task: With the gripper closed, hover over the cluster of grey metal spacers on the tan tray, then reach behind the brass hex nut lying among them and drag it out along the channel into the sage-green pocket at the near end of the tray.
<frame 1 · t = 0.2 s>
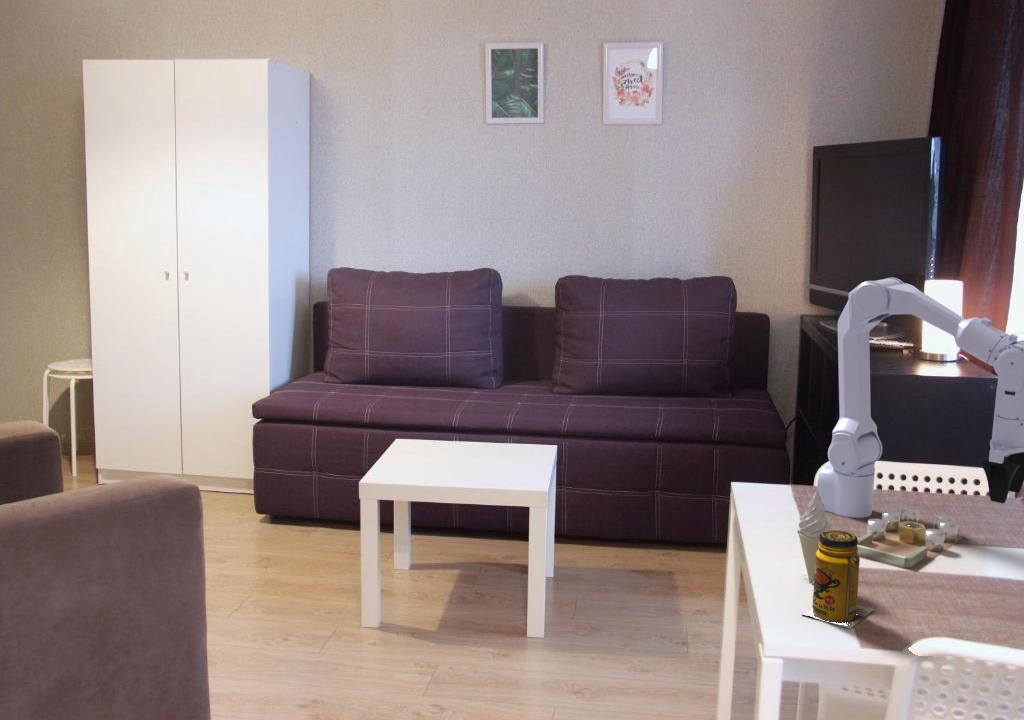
hand: (1005, 496, 176), 10 cm above the table, tool pointing down, fingers open, 7 cm apart
ice cream cone: (811, 584, 165), on the table
tan tray: (903, 550, 179), on the table
condiment: (837, 614, 153), on the table
nut: (910, 539, 181), point 1 cm above the table, touching tan tray
spacers: (915, 528, 181), point 3 cm above the table
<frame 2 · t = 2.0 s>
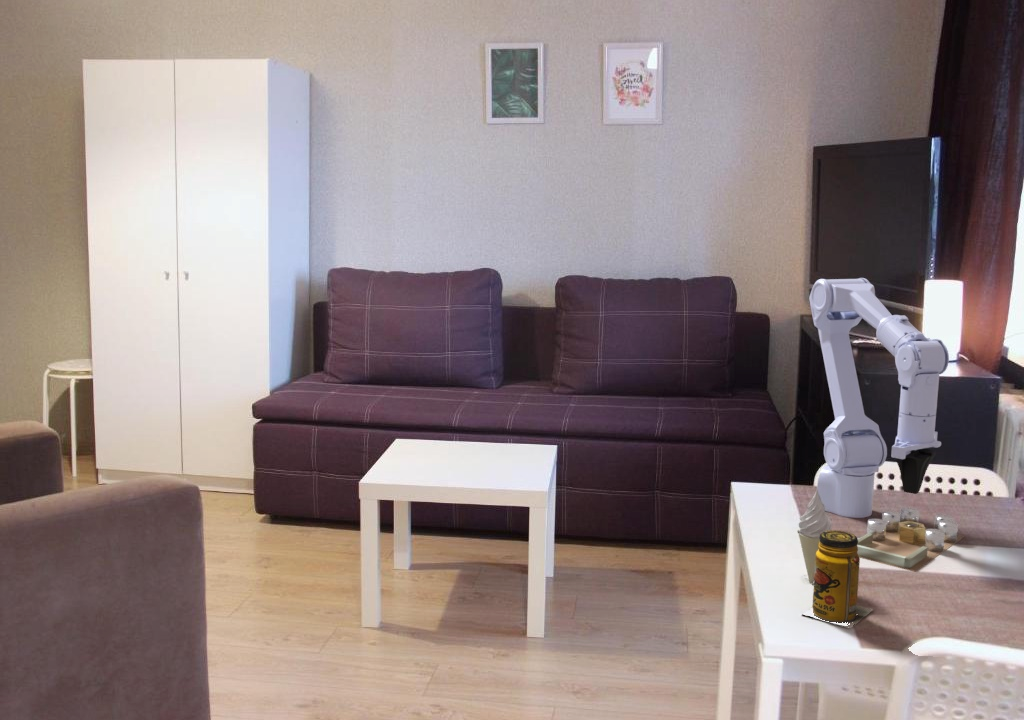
hand: (911, 492, 178), 10 cm above the table, tool pointing down, fingers closed
nothing on the table moved.
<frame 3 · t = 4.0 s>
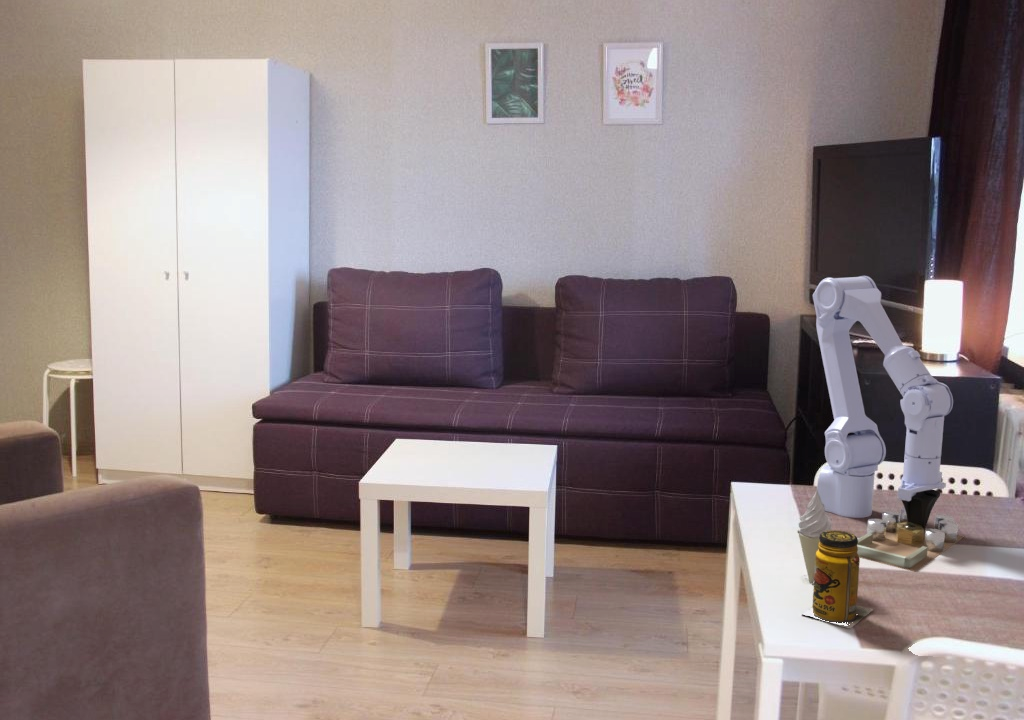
hand: (916, 531, 182), 2 cm above the table, tool pointing down, fingers closed
nut: (909, 540, 180), point 1 cm above the table, touching gripper
everything else where it was.
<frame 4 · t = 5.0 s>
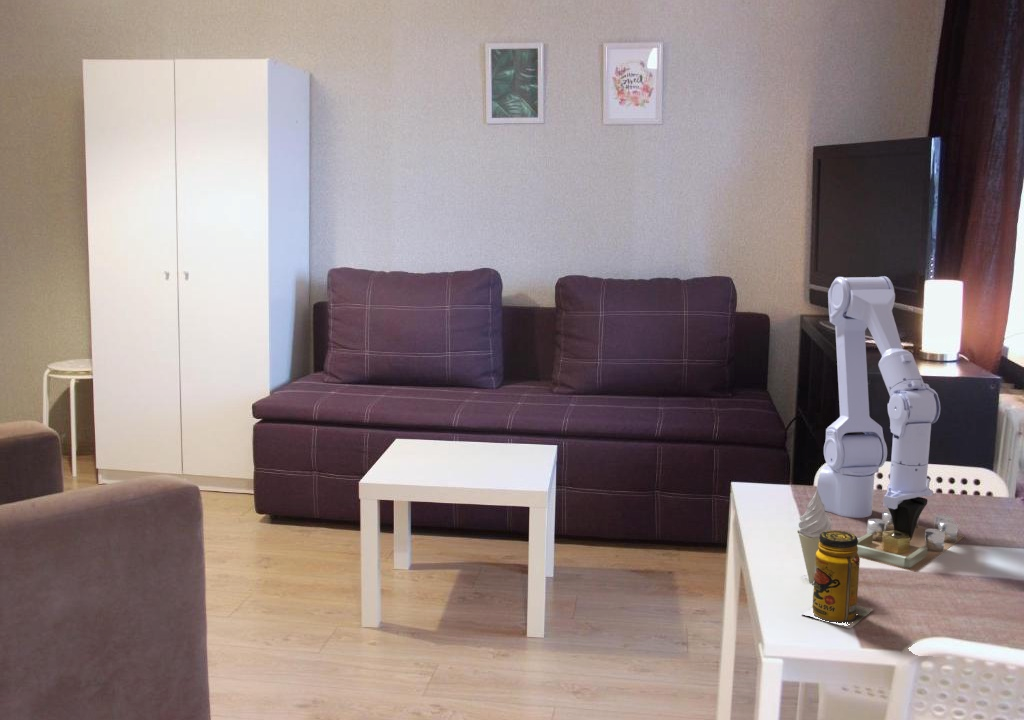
hand: (903, 539, 178), 2 cm above the table, tool pointing down, fingers closed
nut: (895, 549, 176), point 1 cm above the table, touching tan tray, gripper
everything else where it was.
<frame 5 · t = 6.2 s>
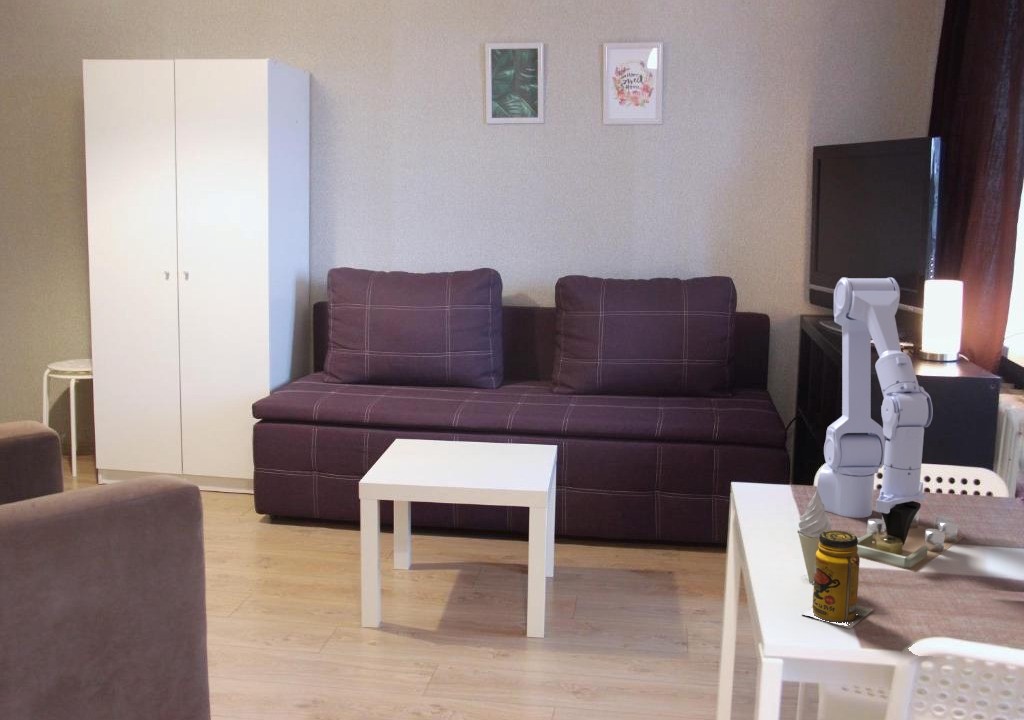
hand: (896, 544, 176), 2 cm above the table, tool pointing down, fingers closed
nut: (887, 553, 174), point 1 cm above the table, touching tan tray, gripper
everything else where it was.
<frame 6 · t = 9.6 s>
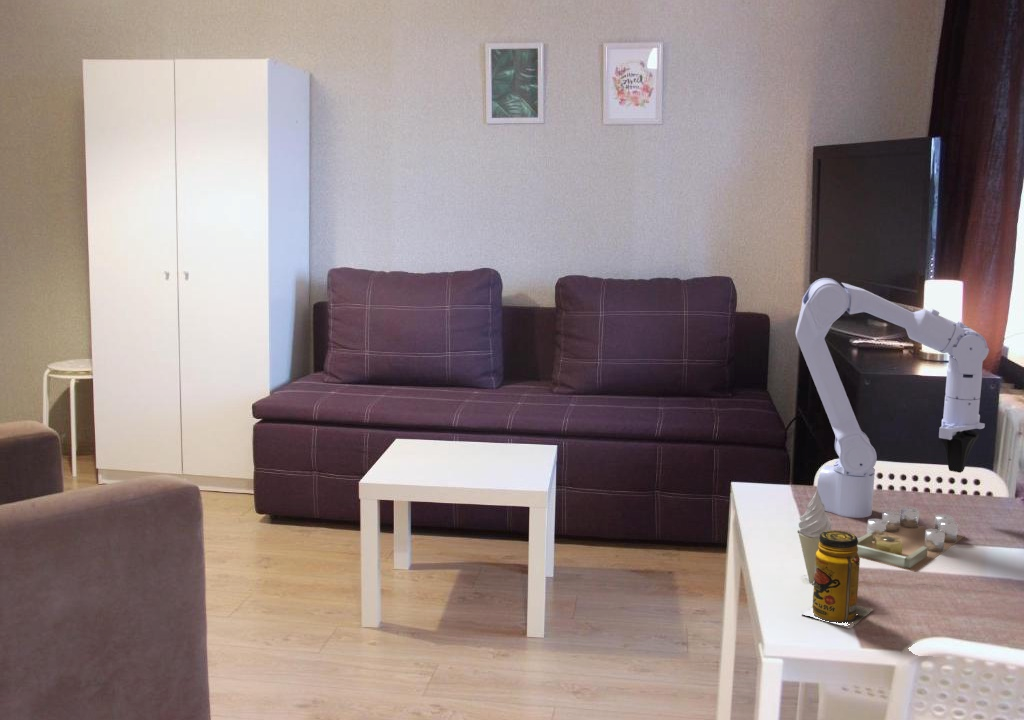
hand: (956, 471, 190), 10 cm above the table, tool pointing down, fingers closed
nut: (887, 553, 174), point 1 cm above the table, touching tan tray
everything else where it was.
at the end: nut inside the target area on the tan tray (0.1 cm from its centre), point 1.2 cm above the tan tray's base; nut moved 9.4 cm from its start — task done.
